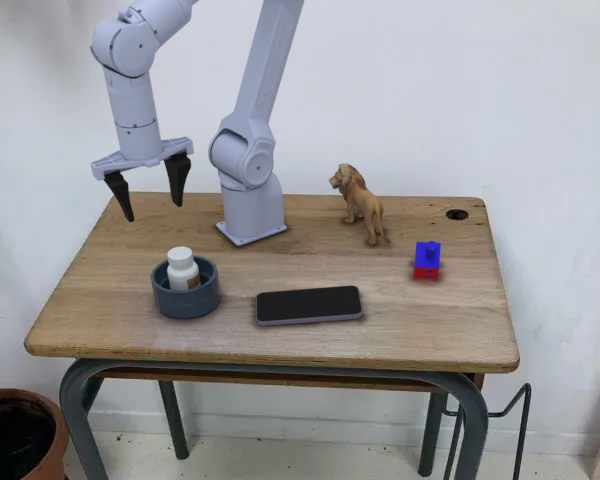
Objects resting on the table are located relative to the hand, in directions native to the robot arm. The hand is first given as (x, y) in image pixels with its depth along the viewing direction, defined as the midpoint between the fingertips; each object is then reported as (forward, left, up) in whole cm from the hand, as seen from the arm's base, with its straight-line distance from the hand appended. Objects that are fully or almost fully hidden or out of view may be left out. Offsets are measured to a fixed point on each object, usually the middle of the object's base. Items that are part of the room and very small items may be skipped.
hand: (154, 211), depth 102 cm
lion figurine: (-32, +8, -10) cm, 34 cm away
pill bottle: (+1, +11, -9) cm, 14 cm away
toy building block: (-32, +25, -10) cm, 42 cm away
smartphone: (-13, +22, -10) cm, 27 cm away
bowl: (+1, +11, -9) cm, 15 cm away
